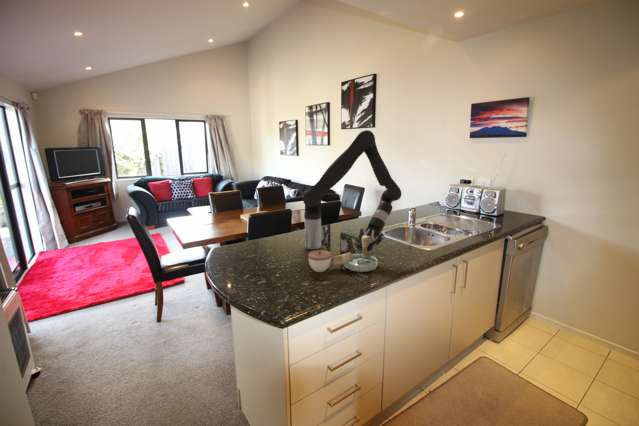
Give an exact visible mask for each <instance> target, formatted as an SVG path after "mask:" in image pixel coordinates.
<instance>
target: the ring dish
mask: <svg viewBox="0 0 639 426" xmlns="http://www.w3.org/2000/svg"><path fill="white" fill-rule="evenodd" d="M351 254H352V257H353V261H352V262H348V263H345V264H343V266H344V268H345V269H348V270H350V271H353V272H361V273H362V272H370V271H373V270H376V269H377V267H378V266H379V260H378V259H377V257H376V256H373V255H371V257H370V258H364V257H362V253H351Z"/></svg>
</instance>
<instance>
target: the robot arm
mask: <svg viewBox="0 0 639 426" xmlns="http://www.w3.org/2000/svg"><path fill="white" fill-rule="evenodd" d="M376 143H377V142H376V136H375V134H374V133H373V131H372V130H368V129H366V130H362V131H360V132H359V133H358V135H356V137H355V138H354V139H353V141H352V142H351V144H350V145H349V146H348V147H347V149H345V151H344V152H342V153H340V155H339V156H338V157H337V158H336V159H335V160H334V161H333V162H332V163H331V164H330V165H329V166H328V168H327V169H326V170H325V172H324V173H323V174H322V176H321V177H320V178H319V180H318V181H317V183H315V184H314V185H313V186H312V187H311V188H310V189H308V190H307V191H305V193H304V194H303V196H302V201H303V204H304V216H303V217H304V241H305V243H304V246H305V250H320V249H321V248H322V244H323V243H322V199H323V198H324V196H325V195H326V194H327V193H328V192H329V191H330V190H331V189H332V188H333V187H335V186H336V185H337V184H338V183H339V182H340V181H341V180H342V179H344V177H345V176H346V175H347V174H348V173H349V171H350V170H351V169H352V168H353V166H354V164H355V162H356V161H357V160H358V159H359V158H360V157H361V155H363V154H365V155H366V157H367V159H368V160H369V164H370V166H371V168H372V171H373V174H374V176H375V178H376V181H377V183H378V184H379V185H380V186H381V187H384V188H385V190H384V191H383V193H382V194H381V196H380V200H379V203H378V206H377V207H376V209H375V211H374V213H373V215H372V216H371V218H370V220H369V222H368V224H367V227H366V228H364V229H363V228H360V231H359V235H358V240H360V241H359V243H358V249H360V250H362V236H371V243H370V244H369V246H368V248H367V251H369V252H370V251H371V252H372V250H373V247H374V246H378V245H380V243H381V242H382V241H383V240H384V239H385V237H386V236H385V234H384V233H383V230H384V228H385V226H386V224H387V222H388V220H389V219H388V218H389V216H390V215H391V213H392V210H393V205H392V203H393V202H396V201H399V200H401V197H402V190H401V188H400V186H398V184H397V183H396V181H394V179H393V178H392V175H391V174H390V172H389V169H388V167H387V166H386V164H385V162H384V160H383V159H382V156H381V154H380V153H379V149H378V147H377V144H376Z"/></svg>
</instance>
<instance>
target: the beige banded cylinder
mask: <svg viewBox="0 0 639 426" xmlns="http://www.w3.org/2000/svg"><path fill="white" fill-rule="evenodd" d="M352 254H353V253H352V252H351V251H349V252H345V253H343V254H339V255H335V256H333V257H332V256H331V265H332V268H335V267H338V266H342V265H344V264H345V263H348V262H352V261H353V257H352Z"/></svg>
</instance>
